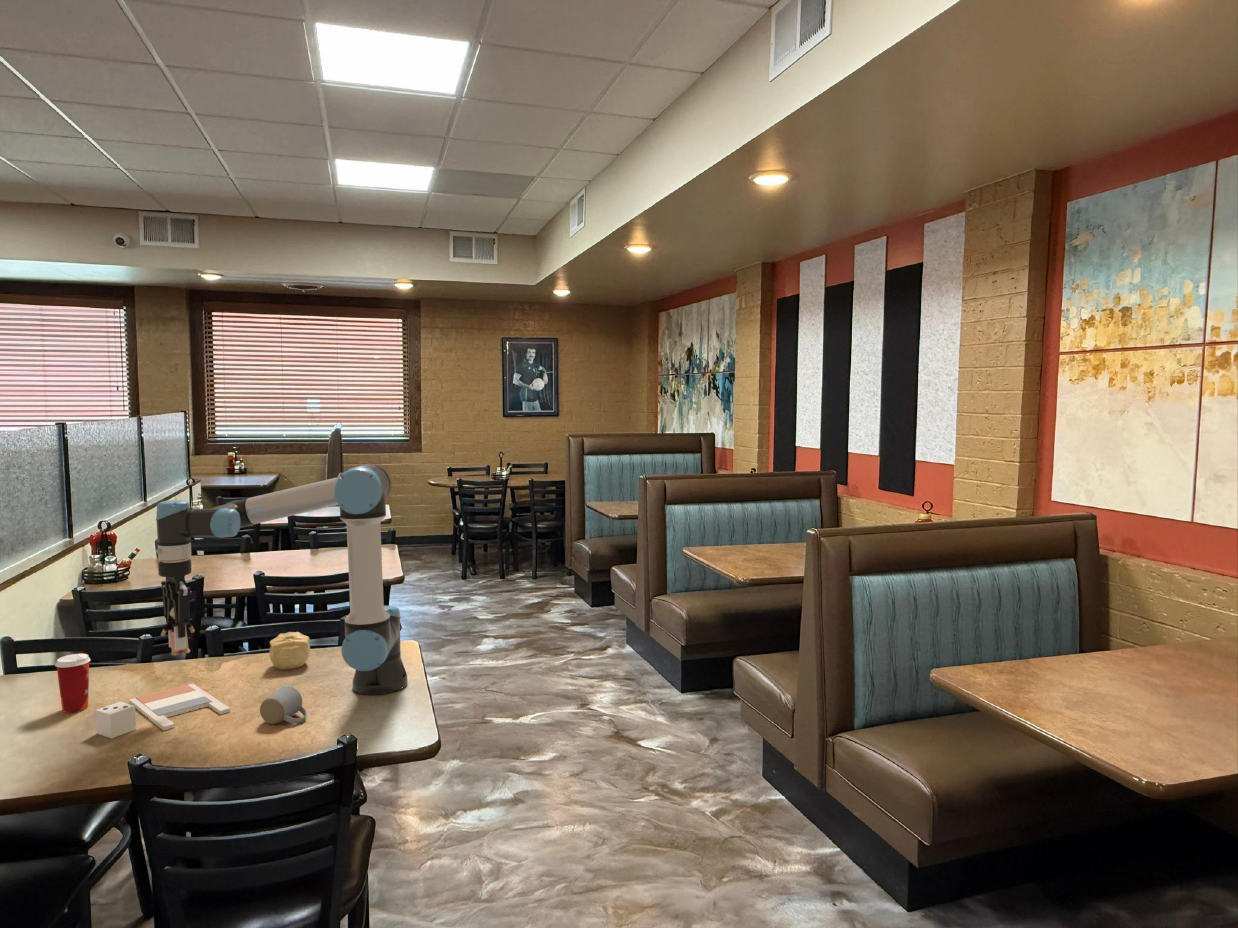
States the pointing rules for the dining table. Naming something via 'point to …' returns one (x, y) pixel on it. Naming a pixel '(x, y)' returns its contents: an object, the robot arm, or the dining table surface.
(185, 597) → the robot arm
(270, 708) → the ceramic mug
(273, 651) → the pale yellow rounded lump
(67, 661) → the paper cup
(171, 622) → the grandmother figurine
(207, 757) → the dining table surface
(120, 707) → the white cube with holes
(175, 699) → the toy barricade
